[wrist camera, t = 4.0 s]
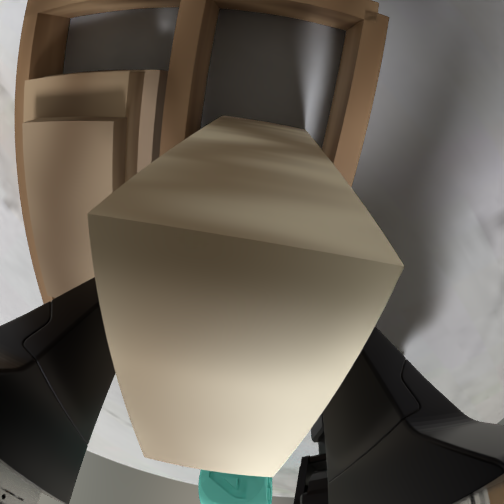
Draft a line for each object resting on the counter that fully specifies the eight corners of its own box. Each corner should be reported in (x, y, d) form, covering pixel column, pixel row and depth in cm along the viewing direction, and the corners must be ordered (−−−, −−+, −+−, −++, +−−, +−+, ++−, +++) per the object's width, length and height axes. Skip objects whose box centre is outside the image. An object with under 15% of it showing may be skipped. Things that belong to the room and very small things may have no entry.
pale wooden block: (304, 129, 14) (405, 266, 4) (273, 267, 18) (273, 477, 8) (222, 115, 14) (87, 213, 3) (205, 256, 18) (144, 457, 7)
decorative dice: (203, 449, 32) (194, 504, 25) (266, 450, 31) (264, 508, 25) (217, 468, 36) (212, 515, 29) (272, 469, 35) (271, 518, 28)
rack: (368, 20, 11) (390, 7, 8) (282, 347, 21) (283, 380, 19) (60, 6, 10) (28, -1, 7) (70, 304, 21) (52, 329, 18)
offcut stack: (173, 71, 13) (133, 67, 8) (160, 276, 19) (135, 329, 15) (65, 74, 12) (6, 81, 8) (72, 258, 18) (35, 301, 14)
